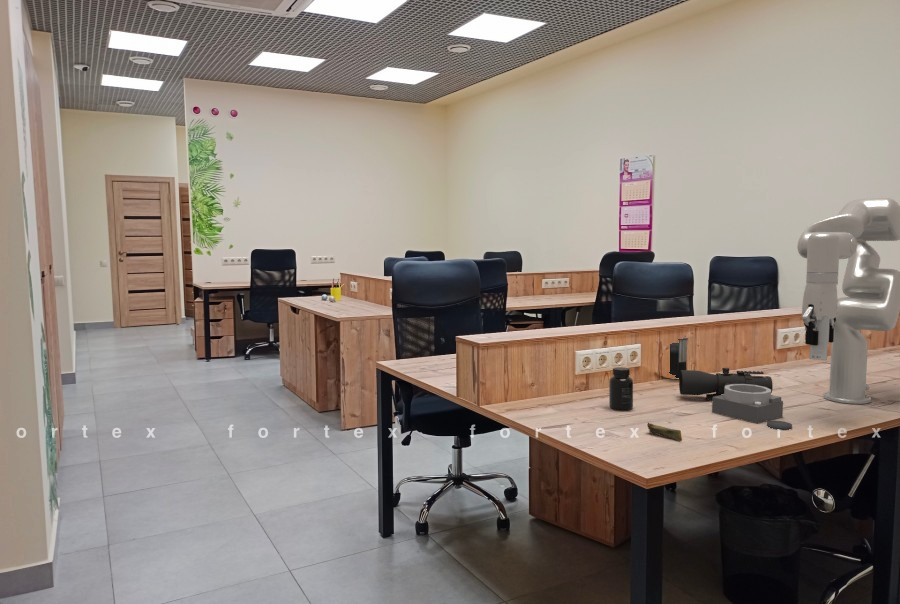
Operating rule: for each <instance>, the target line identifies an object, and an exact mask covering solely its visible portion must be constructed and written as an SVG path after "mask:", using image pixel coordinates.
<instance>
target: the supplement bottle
mask: <svg viewBox="0 0 900 604" xmlns="http://www.w3.org/2000/svg"><path fill="white" fill-rule="evenodd" d="M612 375H613V376H611V377H610V379H609V384H608V385H609V393H608V395H609V398H608V399H609V401H608V402H609V403H608V405H609V408H610V409H611V410H613V411H617V412H618V411H621V412H625V411H631V410H632V409H633V408H634V380H633V379H632V378H631V377H630V375H631V374H630V368H629V367H622V366H617V367H613V368H612Z"/></svg>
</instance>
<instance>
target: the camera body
mask: <svg viewBox="0 0 900 604" xmlns="http://www.w3.org/2000/svg"><path fill="white" fill-rule="evenodd" d="M783 412H784V401H783V400H782V396H779V395H774V394H773V395H772V393H771V389H769V388H766V387H763V386H757V385H749V384H731V385H726V386H725V388H724V394H721V395H720V396H715V397H712V401H711V413H712V414H713V413H714V414H716V415H717V414H718V415H720V416H725V417H730V418H734V419H737V418H738V420H741V419H742V420H741V421H745V422H749V423H753V424H760V423H761V424H762V423H764V422H768V421H773V420H775V419H779V418H783Z"/></svg>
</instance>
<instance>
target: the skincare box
mask: <svg viewBox="0 0 900 604" xmlns="http://www.w3.org/2000/svg"><path fill="white" fill-rule="evenodd" d="M812 319H816V317H813V316H812ZM829 322H830V319H829V316H826V317H824V320H822V321H820V322H819V325H818V328H817V331H819V336H818V345H817V346H815V345H809V347H810V348H809V360H815V361H828V357H829V343H830V342H829ZM812 323H813V325H814V324H815V322H812Z"/></svg>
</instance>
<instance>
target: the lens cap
mask: <svg viewBox="0 0 900 604" xmlns="http://www.w3.org/2000/svg"><path fill="white" fill-rule="evenodd" d="M767 426H768V427H767ZM766 427H767V428H769V427H770V428H769V429H772V428H773V429H772V430H777V429H782V430H781V431H790V430H789V429H791V430H792V429H793V424H792V423H791V422H788V421H783V420H769V421H766Z"/></svg>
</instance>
